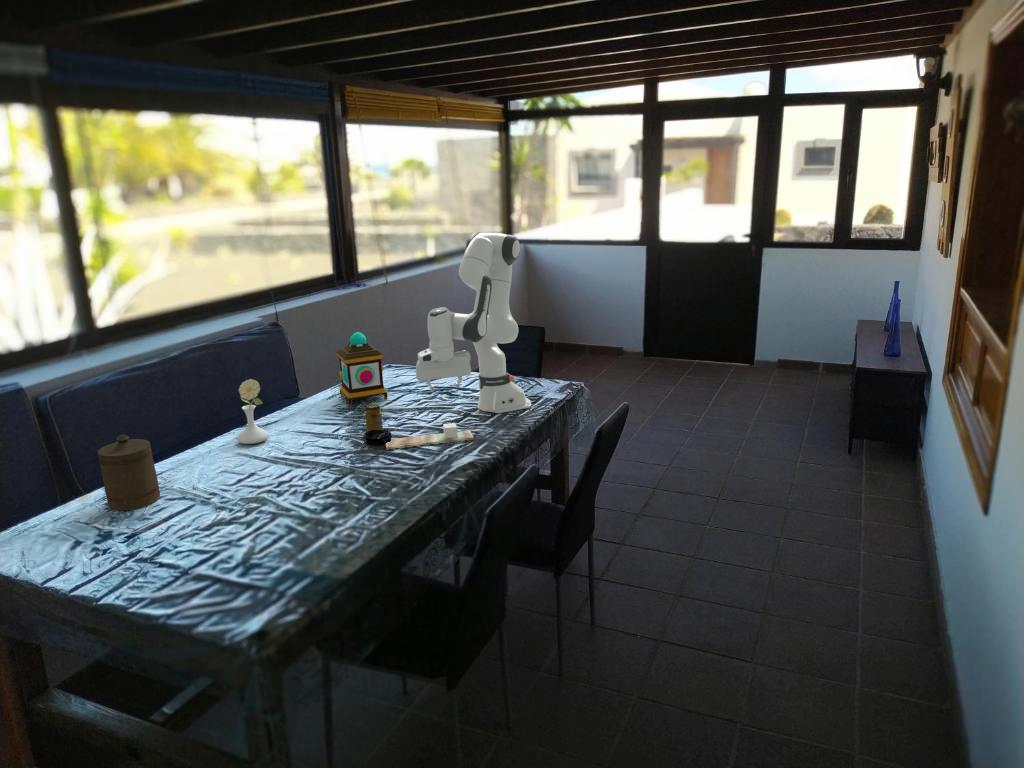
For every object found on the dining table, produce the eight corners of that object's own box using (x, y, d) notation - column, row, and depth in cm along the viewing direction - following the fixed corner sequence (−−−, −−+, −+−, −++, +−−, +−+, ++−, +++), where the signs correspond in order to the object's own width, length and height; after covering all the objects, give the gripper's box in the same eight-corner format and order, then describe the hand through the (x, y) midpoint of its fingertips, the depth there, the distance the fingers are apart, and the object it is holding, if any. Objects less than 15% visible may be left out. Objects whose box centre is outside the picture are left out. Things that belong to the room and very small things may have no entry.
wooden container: (147, 487, 245) (134, 424, 238) (169, 498, 236) (156, 433, 229) (100, 503, 234) (86, 438, 228) (121, 515, 225) (107, 447, 218)
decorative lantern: (336, 395, 336) (329, 330, 327) (379, 388, 344) (373, 325, 335) (346, 407, 318) (339, 339, 310) (391, 400, 326) (385, 333, 318)
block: (455, 432, 279) (455, 422, 278) (457, 437, 275) (456, 426, 274) (443, 434, 278) (443, 424, 277) (445, 438, 274) (444, 428, 273)
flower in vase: (231, 444, 280) (221, 380, 273) (254, 434, 290) (245, 372, 283) (256, 449, 274) (246, 384, 267) (278, 438, 284) (270, 376, 277)
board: (470, 432, 282) (470, 429, 282) (473, 439, 275) (473, 436, 274) (385, 442, 276) (384, 439, 276) (386, 449, 268) (386, 446, 268)
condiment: (378, 431, 288) (376, 401, 285) (390, 436, 282) (387, 406, 278) (362, 435, 284) (359, 406, 280) (373, 441, 277) (370, 411, 274)
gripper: (468, 347, 275) (471, 383, 279) (413, 353, 271) (416, 389, 275) (471, 351, 269) (474, 388, 274) (415, 358, 265) (418, 394, 269)
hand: (445, 389), depth 274 cm, fingers open, 8 cm apart
